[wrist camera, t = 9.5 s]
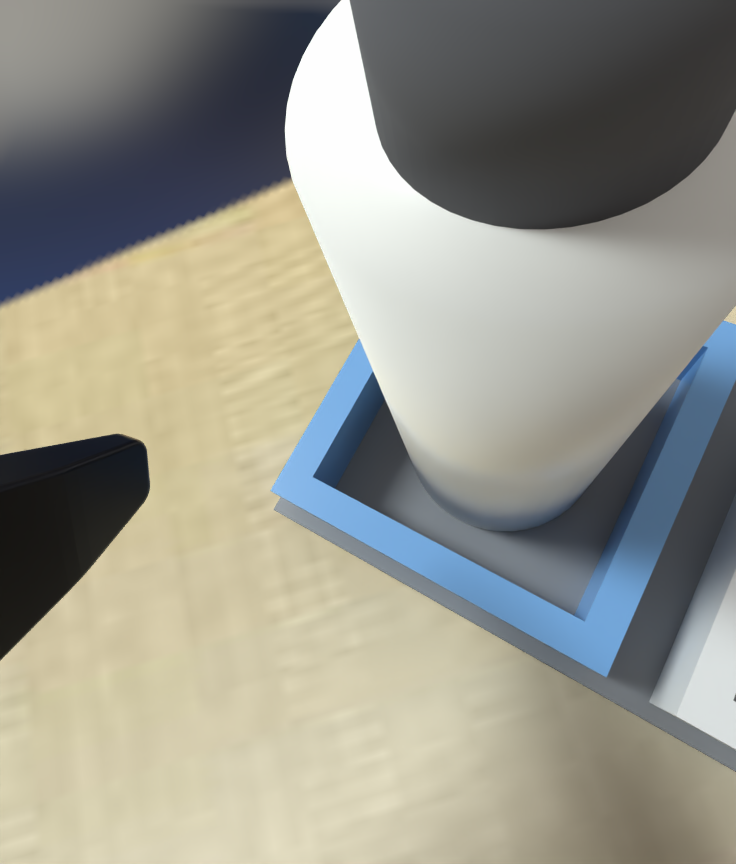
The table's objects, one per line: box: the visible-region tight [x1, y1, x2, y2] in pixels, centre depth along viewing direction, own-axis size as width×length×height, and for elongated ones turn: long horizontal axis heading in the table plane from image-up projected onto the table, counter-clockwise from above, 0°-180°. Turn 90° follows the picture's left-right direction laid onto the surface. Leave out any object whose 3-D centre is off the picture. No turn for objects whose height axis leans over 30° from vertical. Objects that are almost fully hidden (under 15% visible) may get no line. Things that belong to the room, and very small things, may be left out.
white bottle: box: [285, 0, 736, 531], centre depth 10 cm, size 5×5×13 cm
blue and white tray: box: [271, 321, 736, 772], centre depth 14 cm, size 20×9×3 cm, turn 61°
